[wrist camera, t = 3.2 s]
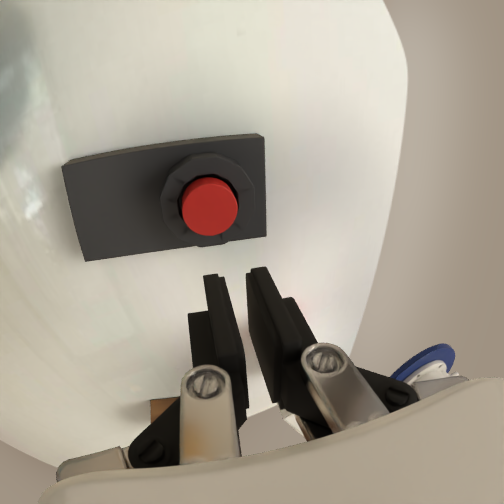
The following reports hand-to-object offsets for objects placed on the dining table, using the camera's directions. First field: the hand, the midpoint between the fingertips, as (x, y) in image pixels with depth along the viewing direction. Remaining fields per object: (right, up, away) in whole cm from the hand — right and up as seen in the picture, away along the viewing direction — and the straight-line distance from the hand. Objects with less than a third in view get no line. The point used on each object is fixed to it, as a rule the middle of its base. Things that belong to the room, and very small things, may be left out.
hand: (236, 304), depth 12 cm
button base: (-6, +7, +12) cm, 15 cm away
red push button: (-2, +5, +10) cm, 12 cm away
